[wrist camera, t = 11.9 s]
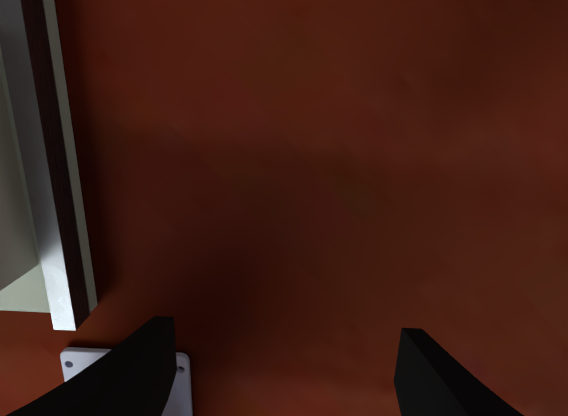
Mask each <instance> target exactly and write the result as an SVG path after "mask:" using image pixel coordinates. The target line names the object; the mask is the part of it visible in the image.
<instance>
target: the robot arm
mask: <svg viewBox="0 0 568 416" xmlns="http://www.w3.org/2000/svg"><path fill="white" fill-rule="evenodd" d="M60 358H61V363H62V369H63V374H64V379H65V382H64V383H63V384H61V385H59V386H58V387H56V388H55V389H53V390H51V391H50V392H48V393H46V394H44V395H43V396H41V397H39V398H38V399H36V400H34V401H32V402H31V403H29V404H27V405H25V406H23V407H21V408H19V409H17V410H16V411H14V412H12V413H10V414H8V415H6V416H193V412H192V394H191V377H190V360H189V357H188V356H187V355H186V354H185V353H178V352H176V345H175V331H174V317H159V316H154V317H153V318H152V319H150V320H149V321H148V322H146V323H145V324H144V325H142V326H141V327H140V328H139V329H137V330H136V331H135V332H133V333H132V334H131V335H130V336H128V337H127V338H126V339H125V340H123V341H122V342H121V343H119V344H118V345H117V346H115V347H114V348H113V349H97V348H76V347H67V348H65V349H64V350H63V351H62V352H61V354H60ZM69 361H71V362H72V363H71V362H69ZM179 366H181V367H183V368H184V369H181V368H179ZM394 384H395V389H396V394H397V399H398V403H399V407H400V411H401V415H402V416H524V415H522V414H521V413H519V412H518V411H517V410H515V409H514V408H513V407H511V406H510V405H509V404H507V403H506V402H505V401H504V400H502V399H501V398H500V397H499V396H497V395H496V394H495V393H494V392H492V391H491V390H490V389H489V388H487V387H486V386H485V385H484V384H483V383H481V382H480V381H479V380H478V379H477V378H475V377H474V376H473V375H472V374H471V373H470V372H469V371H467V370H466V369H465V368H464V367H463V366H462V365H461V364H460V363H458V362H457V361H456V360H455V359H454V358H453V357H452V356H451V355H450V354H449V353H448V352H446V351H445V350H444V349H443V348H442V347H441V346H440V345H439V344H438V343H437V342H436V341H435V340H434V339H432V338H431V337H430V336H429V335H428V334H427V333H426V332H425V331H424V330H422V329H415V328H402V330H401V337H400V343H399V350H398V357H397V363H396V370H395V376H394Z"/></svg>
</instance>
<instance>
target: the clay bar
mask: <svg viewBox="0 0 568 416" xmlns="http://www.w3.org/2000/svg"><path fill="white" fill-rule="evenodd" d="M37 265H38V263H37V258H36V252H35V247H34V242H33V237H32V232H31V227H30V221H29V216H28V211H27V206H26V201H25V195H24V190H23V185H22V180H21V175H20V170H19V164H18V159H17V154H16V149H15V144H14V138H13V133H12V128H11V123H10V118H9V113H8V107H7V102H6V97H5V92H4V87H3V81H2V76H1V71H0V291H1V290H2V289H4V288H5V287H7V286H8V285H10V284H11V283H13V282H14V281H15V280H17V279H18V278H20V277H21V276H23V275H24V274H26V273H27V272H29V271H30V270H32V269H33V268H34V267H36V266H37Z"/></svg>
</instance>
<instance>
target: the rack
mask: <svg viewBox="0 0 568 416" xmlns="http://www.w3.org/2000/svg"><path fill="white" fill-rule="evenodd" d="M0 71H1V76H2V81H3V87H4V92H5V97H6V102H7V107H8V113H9V118H10V123H11V128H12V133H13V138H14V144H15V149H16V154H17V159H18V164H19V170H20V175H21V180H22V185H23V190H24V195H25V201H26V206H27V211H28V216H29V221H30V227H31V232H32V237H33V242H34V247H35V252H36V258H37V263H38V265H37V266H36V267H34V268H33V269H32V270H30V271H29V272H27V273H26V274H24V275H23V276H21V277H20V278H18V279H17V280H15V281H14V282H13V283H11V284H10V285H8V286H7V287H5V288H4V289H2V290H1V291H0V310H9V311H30V312H51V317H52V322H53V328H54V329H55V330H77V329H78V327H79V326H80V325H81V324H82V323H83V322H84V321H85V320H86V319H87V318H88V316H89V315H90V312H91V311H92V310H93V309H94V308H95V307H96V306H97V305H98V304H97V297H96V290H95V283H94V276H93V269H92V262H91V255H90V248H89V241H88V234H87V227H86V220H85V213H84V206H83V199H82V192H81V185H80V178H79V171H78V164H77V157H76V150H75V143H74V136H73V129H72V122H71V115H70V108H69V101H68V94H67V87H66V80H65V73H64V66H63V59H62V52H61V45H60V38H59V31H58V24H57V17H56V10H55V3H54V0H0Z"/></svg>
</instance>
